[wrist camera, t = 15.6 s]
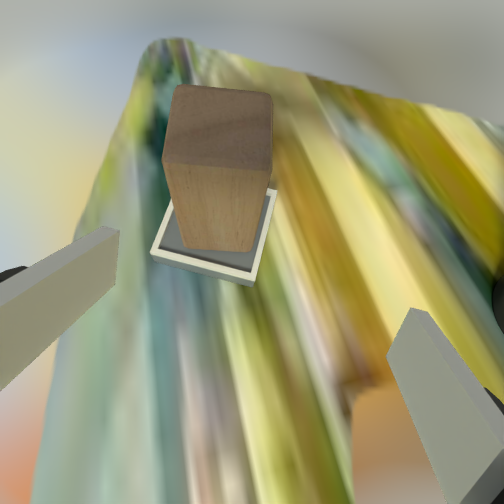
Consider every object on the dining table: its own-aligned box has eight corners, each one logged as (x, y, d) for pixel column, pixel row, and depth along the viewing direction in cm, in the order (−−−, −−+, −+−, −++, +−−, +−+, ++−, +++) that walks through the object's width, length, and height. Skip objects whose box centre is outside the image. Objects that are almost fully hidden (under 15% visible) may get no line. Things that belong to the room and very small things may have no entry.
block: (189, 190, 50) (172, 78, 32) (254, 195, 51) (274, 88, 32) (182, 250, 46) (158, 162, 28) (252, 255, 47) (273, 172, 29)
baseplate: (273, 203, 54) (277, 190, 51) (252, 287, 48) (255, 279, 45) (186, 180, 54) (184, 166, 51) (155, 261, 49) (150, 252, 45)
